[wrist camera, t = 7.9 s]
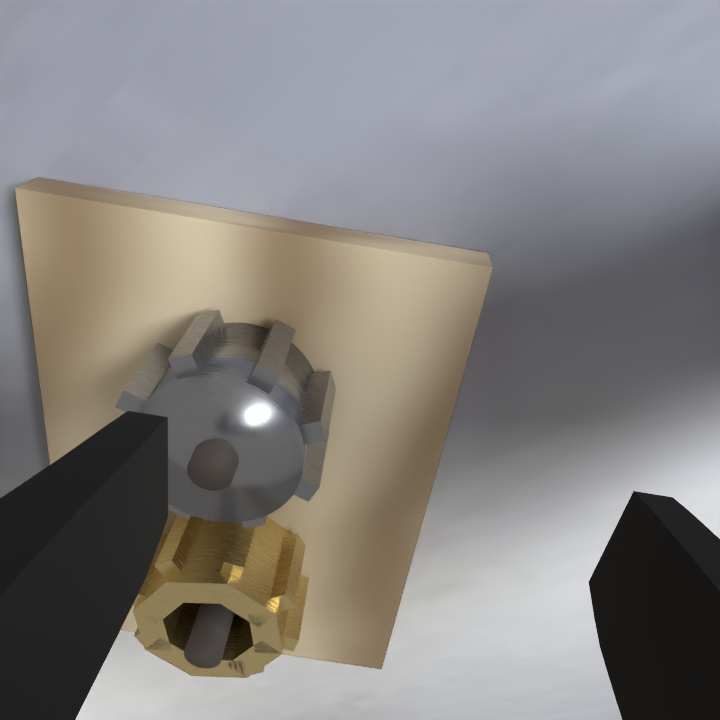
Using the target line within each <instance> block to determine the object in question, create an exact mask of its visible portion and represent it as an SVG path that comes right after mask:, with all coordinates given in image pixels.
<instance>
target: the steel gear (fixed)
mask: <svg viewBox="0 0 720 720" xmlns="http://www.w3.org/2000/svg"><path fill="white" fill-rule="evenodd" d="M295 331H296V330H295V329H294V328H292V327H290V326H288V325H286V324H285V323H283V322H281V321H279V320H277V319H276V320H275V321H274V323H273V325H272V326H271V328H270V329H267V328H264V327H262V326H258V325H254V324H249V323H224V321H223V318H222V316H221V313H220V311H219V310H214V311H209V312H204V313H199V314H198V315H197V316H196V318H195V319H194V321H193V322H192V324H191V325H190V327H189V328H188V329H187V331H186V332H185V334H184V335H183V337H182V338H181V340H180V341H179V343H178V344H177V346H176V347H175V349H174V350H172V349H170V348H168V347H166V346H164V345H162V344H160V343H157V345H156V346H155V348H154V349H153V350H152V352H151V353H150V354H149V356H148V357H147V358H146V360H145V361H144V363H143V364H142V365H141V367H140V368H139V369H138V371H137V372H136V373H135V375H134V376H133V378H132V379H131V380H130V382H129V383H128V384H127V386H126V387H125V388H124V390H123V392H122V394H121V396H120V398H119V400H118V402H117V404H116V406H115V407H116V408H118V409H120V410H122V411H124V412H127V411H133V412H139V413H145V414H151V415H158V416H164V417H168V504H169V505H171V506H170V508H169V511H171V512H173V513H176V514H178V515H180V516H182V517H184V518H187V519H189V518H190V517H191V516H194V517H198V518H201V519H205V520H210V521H216V522H242V524H243V527H244V528H249V527H256V526H263V525H265V523H266V519H267V515H268V514H271V513H273V512H274V511H276V510H277V509H279V508H281V507H282V506H283V505H284V504H285V503H286V502H288V500H289V499H290V498H291V497H292V496H293V495H295V496H297V497H299V498H301V499H303V500H306V501H308V502H309V501H310V499H311V498H312V497H313V495H314V494H315V493H316V491H317V490H318V489H319V488H320V482H321V476H322V471H323V465H324V459H325V453H326V447H327V442H328V436H329V426H330V420H331V415H332V409H333V403H334V397H335V392H336V386H335V383H334V380H333V377H332V374H331V370H330V371H324V372H319V373H314V371H313V368H312V366H311V365H310V363H309V361H308V359H307V358H306V357H305V356H304V354H303V353H302V352H301V351H300V350H299V349H298V348H297V347H296V346H295V345H294V344H293V343H292V340H293V337H294V334H295ZM205 440H220V441H223V442H226V443H227V444H229V445H230V446H232V447H233V448H234V449H235V451H236V452H237V454H238V457H239V464H238V467H237V469H236V472H235V475H234V478H233V481H232V483H231V484H230V485H229V486H228V487H226V488H225V489H222V490H218V491H211V490H206V489H203V488H200V487H198V486H197V485H195V484H194V483H193V482H192V481H191V480H190V478H189V476H188V474H187V465H188V463H189V460H190V458H191V456H192V454H193V452H194V450H195V448H196V446H197V445H198V444H199V443H201V442H203V441H205Z"/></svg>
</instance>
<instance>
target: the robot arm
mask: <svg viewBox="0 0 720 720" xmlns="http://www.w3.org/2000/svg"><path fill="white" fill-rule="evenodd" d="M167 519H168V417H164V416H158V415H151V414H145V413H139V412H133V411H127V412H125V413H124V414H122V415H121V416H119V417H118V418H116V419H115V420H113V421H112V422H111V423H109V424H108V425H106V426H105V427H103V428H102V429H100V430H99V431H98V432H96V433H95V434H93V435H92V436H91V437H89V438H88V439H86V440H85V441H84V442H82V443H81V444H79V445H78V446H76V447H75V448H74V449H72V450H71V451H69V452H68V453H66V454H65V455H64V456H62V457H61V458H59V459H58V460H57V461H55V462H54V463H52V464H51V465H49V466H48V467H46V468H45V469H43V470H42V471H40V472H39V473H37V474H36V475H35V476H33V477H32V478H30V479H29V480H27V481H26V482H24V483H23V484H21V485H20V486H18V487H17V488H15V489H14V490H12V491H11V492H9V493H8V494H6V495H5V496H3V497H2V498H0V720H75V719H76V717H77V715H78V713H79V711H80V709H81V707H82V705H83V703H84V701H85V699H86V697H87V695H88V693H89V691H90V689H91V687H92V685H93V683H94V681H95V679H96V677H97V675H98V673H99V671H100V669H101V667H102V665H103V663H104V661H105V659H106V657H107V655H108V653H109V651H110V649H111V647H112V645H113V643H114V641H115V639H116V637H117V635H118V633H119V631H120V629H121V627H122V625H123V623H124V621H125V619H126V617H127V615H128V613H129V611H130V609H131V607H132V605H133V603H134V601H135V599H136V597H137V595H138V593H139V591H140V589H141V587H142V585H143V583H144V581H145V579H146V577H147V574H148V571H149V569H150V566H151V563H152V561H153V558H154V555H155V553H156V550H157V547H158V544H159V541H160V539H161V536H162V533H163V530H164V527H165V524H166V522H167ZM589 586H590V593H591V599H592V605H593V611H594V618H595V623H596V628H597V633H598V638H599V643H600V648H601V651H602V655H603V658H604V662H605V665H606V668H607V671H608V675H609V678H610V681H611V684H612V688H613V691H614V694H615V698H616V701H617V704H618V707H619V710H620V713H621V717H622V720H720V539H719V538H718V537H717V536H716V535H714V534H713V533H712V532H711V531H710V530H709V529H708V528H707V527H706V526H705V525H704V524H703V523H702V522H700V521H699V520H698V519H697V518H696V517H695V516H694V515H693V514H692V513H690V512H689V511H688V510H687V509H686V508H685V507H683V506H682V505H681V504H680V503H679V502H677V501H676V500H675V499H674V498H672V497H666V496H660V495H654V494H647V493H641V492H635V491H634V492H633V494H632V496H631V498H630V500H629V502H628V504H627V506H626V508H625V510H624V512H623V514H622V516H621V518H620V520H619V522H618V524H617V526H616V528H615V530H614V532H613V534H612V536H611V538H610V540H609V542H608V544H607V546H606V548H605V550H604V552H603V554H602V556H601V558H600V560H599V562H598V564H597V566H596V568H595V570H594V572H593V574H592V576H591V579H590V581H589Z"/></svg>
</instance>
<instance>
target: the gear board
mask: <svg viewBox="0 0 720 720" xmlns="http://www.w3.org/2000/svg"><path fill="white" fill-rule="evenodd" d="M15 193H16V201H17V209H18V217H19V225H20V233H21V240H22V248H23V256H24V264H25V272H26V280H27V287H28V295H29V303H30V311H31V319H32V327H33V335H34V342H35V350H36V358H37V366H38V374H39V382H40V389H41V397H42V405H43V413H44V421H45V429H46V436H47V444H48V452H49V460H50V465H51V464H52V463H54V462H55V461H57V460H58V459H59V458H61V457H62V456H64V455H65V454H66V453H68V452H69V451H71V450H72V449H74V448H75V447H76V446H78V445H79V444H81V443H82V442H84V441H85V440H86V439H88V438H89V437H91V436H92V435H93V434H95V433H96V432H98V431H99V430H100V429H102V428H103V427H105V426H106V425H108V424H109V423H111V422H112V421H113V420H115V419H116V418H118V417H119V416H121V415H122V414H124V413H125V412H124V411H122V410H120V409H118V408H116V407H115V406H116V404H117V402H118V400H119V398H120V396H121V394H122V392H123V390H124V388H125V387H126V386H127V384H128V383H129V382H130V380H131V379H132V378H133V376H134V375H135V373H136V372H137V371H138V369H139V368H140V367H141V365H142V364H143V363H144V361H145V360H146V358H147V357H148V356H149V354H150V353H151V352H152V350H153V349H154V348H155V346H156V345H157V343H160V344H162V345H164V346H166V347H168V348H170V349H172V350H174V349H175V347H176V346H177V344H178V343H179V341H180V340H181V338H182V337H183V335H184V334H185V332H186V331H187V329H188V328H189V327H190V325H191V324H192V322H193V321H194V319H195V318H196V316H197V315H198V314H199V313H204V312H209V311H214V310H219V311H220V313H221V316H222V318H223V321H224V323H249V324H254V325H258V326H262V327H264V328H267V329H270V328H271V326H272V325H273V323H274V321H275V320H276V319H277V320H279V321H281V322H283V323H285V324H286V325H288V326H290V327H292V328H294V329H295V330H296V331H295V334H294V337H293V340H292V343H293V344H294V345H295V346H296V347H297V348H298V349H299V350H300V351H301V352H302V353H303V354H304V356H305V357H306V358H307V359H308V361H309V363H310V365H311V366H312V368H313V371H314V373H319V372H324V371H330V370H331V374H332V377H333V380H334V383H335V386H336V392H335V397H334V403H333V409H332V415H331V420H330V426H329V436H328V442H327V447H326V453H325V459H324V465H323V471H322V476H321V482H320V488H319V489H318V490H317V491H316V493H315V494H314V495H313V497H312V498H311V499H310V501H309V502H308V501H306V500H303V499H301V498H299V497H297V496H295V495H293V496H292V497H291V498H290V499H289V500H288V502H286V503H285V504H284V505H283V506H282V507H281V508H279V509H277V510H276V511H274V512H273V513H271V514H268V515H267V516H268V517H269V518H271V519H272V520H273V521H275V522H276V523H278V524H279V525H281V526H282V527H283V528H285V529H286V530H288V531H289V532H291V533H292V534H297V533H298V535H299V536H300V538H301V539H302V541H303V542H304V544H305V545H306V547H305V553H304V558H303V564H302V569H301V575H302V576H305V577H309V582H308V588H307V594H306V600H305V607H304V613H303V619H302V625H301V631H300V637H299V641H298V643H297V645H296V647H295V649H294V651H293V652H292V651H289V650H285V649H283V652H282V654H283V655H290V656H297V657H303V658H310V659H316V660H323V661H330V662H336V663H343V664H350V665H356V666H363V667H370V668H376V669H382V666H383V662H384V659H385V655H386V651H387V648H388V644H389V641H390V637H391V633H392V630H393V626H394V623H395V619H396V615H397V612H398V608H399V605H400V601H401V597H402V594H403V590H404V587H405V583H406V579H407V576H408V572H409V569H410V565H411V561H412V558H413V554H414V551H415V547H416V543H417V540H418V536H419V533H420V529H421V525H422V522H423V518H424V515H425V511H426V507H427V504H428V500H429V497H430V493H431V489H432V486H433V482H434V479H435V475H436V471H437V468H438V464H439V461H440V457H441V454H442V450H443V446H444V443H445V439H446V436H447V432H448V428H449V425H450V421H451V418H452V414H453V410H454V407H455V403H456V400H457V396H458V392H459V389H460V385H461V382H462V378H463V374H464V371H465V367H466V364H467V360H468V356H469V353H470V349H471V346H472V342H473V338H474V335H475V331H476V328H477V324H478V320H479V317H480V313H481V310H482V306H483V302H484V299H485V295H486V292H487V288H488V284H489V281H490V277H491V274H492V270H493V266H492V263H491V261H490V258H489V255H488V253H486V252H480V251H474V250H468V249H462V248H456V247H450V246H444V245H438V244H432V243H426V242H420V241H414V240H408V239H402V238H396V237H390V236H384V235H378V234H372V233H366V232H360V231H355V230H349V229H343V228H337V227H331V226H325V225H319V224H313V223H307V222H301V221H295V220H289V219H283V218H277V217H271V216H265V215H259V214H253V213H247V212H241V211H235V210H229V209H223V208H217V207H212V206H206V205H200V204H194V203H188V202H182V201H176V200H170V199H164V198H158V197H152V196H146V195H140V194H134V193H128V192H122V191H116V190H110V189H104V188H98V187H92V186H86V185H80V184H75V183H69V182H63V181H57V180H51V179H45V178H39V177H38V178H35V179H33V180H31V181H29V182H27V183H25V184H22V185H20V186H18V187H16V188H15ZM238 464H239V457H238V454H237V452H236V451H235V449H234V448H233V447H232V446H230V445H229V444H227V443H226V442H223V441H220V440H205V441H203V442H201V443H199V444H198V445H197V446H196V448H195V450H194V452H193V454H192V456H191V458H190V460H189V463H188V465H187V474H188V476H189V478H190V480H191V481H192V482H193V483H194V484H195V485H197V486H198V487H200V488H203V489H206V490H211V491H218V490H222V489H225V488H226V487H228V486H229V485H230V484H231V483H232V481H233V478H234V475H235V472H236V469H237V467H238ZM170 506H171V505H169V504H168V519H167V522H166V524H165V527H164V530H163V533H164V534H167V533H168V532H169V531H170V530H171V528H172V526H173V523H174V521H175V519H176V517H177V514H176V513H173V512H171V511H169V508H170ZM134 607H135V606H132V607H131V609H130V611H129V613H128V615H127V617H126V619H125V621H124V623H123V625H122V627H121V629H120V630H124V631H131V632H136V630H137V628H138V626H137V623H136V620H135V616H134V613H133V609H134ZM234 614H235V613H234V612H233V611H231V610H229V609H228V608H226V607H225V606H223V605H221V604H213V603H201V604H200V607H199V610H198V613H197V616H196V619H195V622H194V625H193V627H192V630H191V633H190V636H189V639H188V642H187V645H186V648H185V651H184V657H185V659H186V660H187V661H188V662H189V663H190V664H192V665H194V666H196V667H199V668H214V667H216V666H218V665H219V664H220V663H221V660H222V657H223V653H224V650H225V646H226V642H227V639H228V635H229V632H230V628H231V624H232V621H233V617H234Z"/></svg>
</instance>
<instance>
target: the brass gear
mask: <svg viewBox="0 0 720 720" xmlns="http://www.w3.org/2000/svg"><path fill="white" fill-rule="evenodd" d="M305 547H306V545H305V544H304V542H303V541H302V539H301V538H300V536H299V535H298V533H297V534H292V533H291V532H289V531H288V530H286V529H285V528H283V527H282V526H281V525H279V524H278V523H276V522H275V521H273V520H272V519H271V518H269V517H268V516H267V519H266V523H265V525H263V526H256V527H249V528H244V527H243V524H242V522H216V521H210V520H205V519H201V518H198V517H194V516H191V517H190V518H189V519H187V518H184V517H182V516H180V515H178V514H177V517H176V519H175V521H174V523H173V526H172V528H171V530H170V531H169V532H168V533H167V534H164V533H162V536H161V539H160V541H159V544H158V547H157V550H156V553H155V555H154V558H153V561H152V563H151V566H150V569H149V571H148V574H147V577H146V579H145V581H144V583H143V585H142V587H141V589H140V591H139V593H138V595H137V597H136V599H135V601H134V603H133V605H132V606H135V607H134V609H133V613H134V616H135V620H136V623H137V626H138V628H137V630H136V632H135V635H134V636H135V637H136V638H137V639H138V640H139V641H140V642H141V644H142V645H143V646H144V647H145V650H147V651H149V652H151V653H152V654H154V655H156V656H158V657H159V658H161V659H163V660H165V661H167V662H168V663H170V664H172V665H174V666H175V667H177V668H179V669H181V670H182V671H184V672H186V673H188V674H189V675H191V676H211V677H240V678H247V677H249V676H250V675H252V674H256V673H261V672H263V670H264V666H265V665H266V664H268V663H269V662H271V661H272V660H274V659H275V658H277V657H278V656H280V655H281V654H282V652H283V649H285V650H289V651H292V652H293V651H294V649H295V647H296V645H297V643H298V641H299V637H300V631H301V625H302V619H303V613H304V607H305V600H306V594H307V588H308V582H309V577H305V576H302V575H301V569H302V564H303V558H304V553H305ZM201 603H213V604H221V605H223V606H225V607H226V608H228V609H229V610H231V611H233V612H234V613H235V614H234V617H233V621H232V624H231V628H230V632H229V635H228V639H227V642H226V646H225V650H224V653H223V657H222V660H221V663H220V664H219V665H218V666H216V667H214V668H199V667H196V666H194V665H192V664H190V663H189V662H188V661H187V660H186V659H185V657H184V651H185V648H186V645H187V642H188V639H189V636H190V633H191V630H192V627H193V625H194V622H195V619H196V616H197V613H198V610H199V607H200V604H201Z"/></svg>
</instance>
